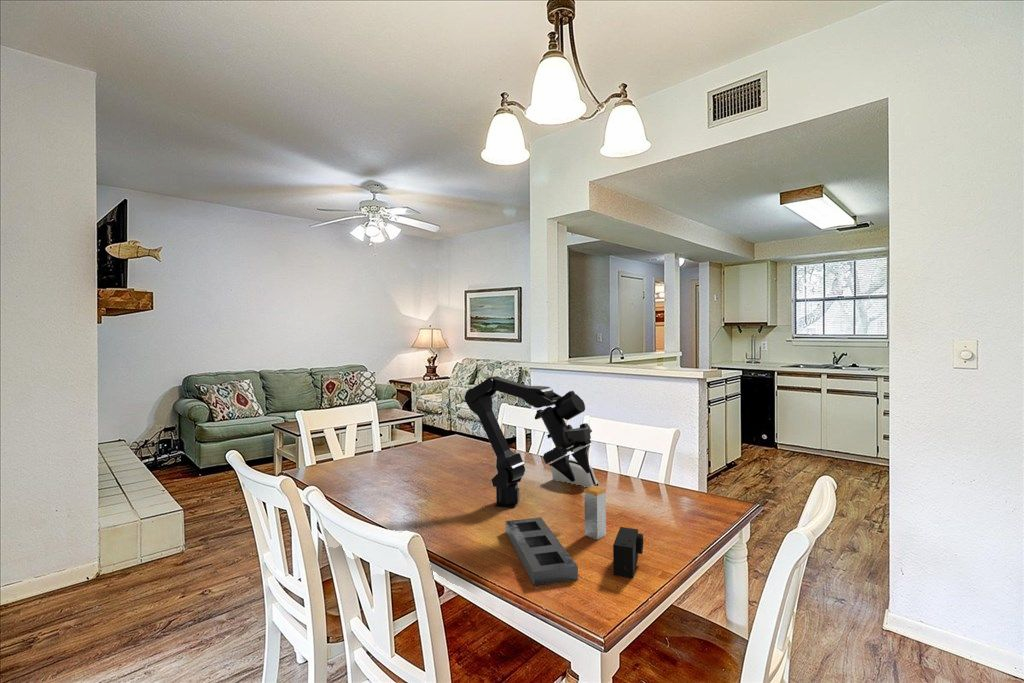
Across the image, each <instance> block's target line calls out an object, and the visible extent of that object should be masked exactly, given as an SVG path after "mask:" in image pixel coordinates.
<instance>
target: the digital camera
mask: <svg viewBox="0 0 1024 683" xmlns="http://www.w3.org/2000/svg"><path fill="white" fill-rule="evenodd" d="M643 551H644V534H643V533H639V529H638V528H632V527H624V526H620V527H619V530H618V532H617V534H616V537H615V540H614V542H613V546H612V553H613V555H612V556H613V558H612V559H613V562H612V566H613V567H612V568H613V576H616V577H622V578H626V579H627V578H628V579H633V578H634V576H635V571H636V568H637V564H638V561H639V555H643Z"/></svg>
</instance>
